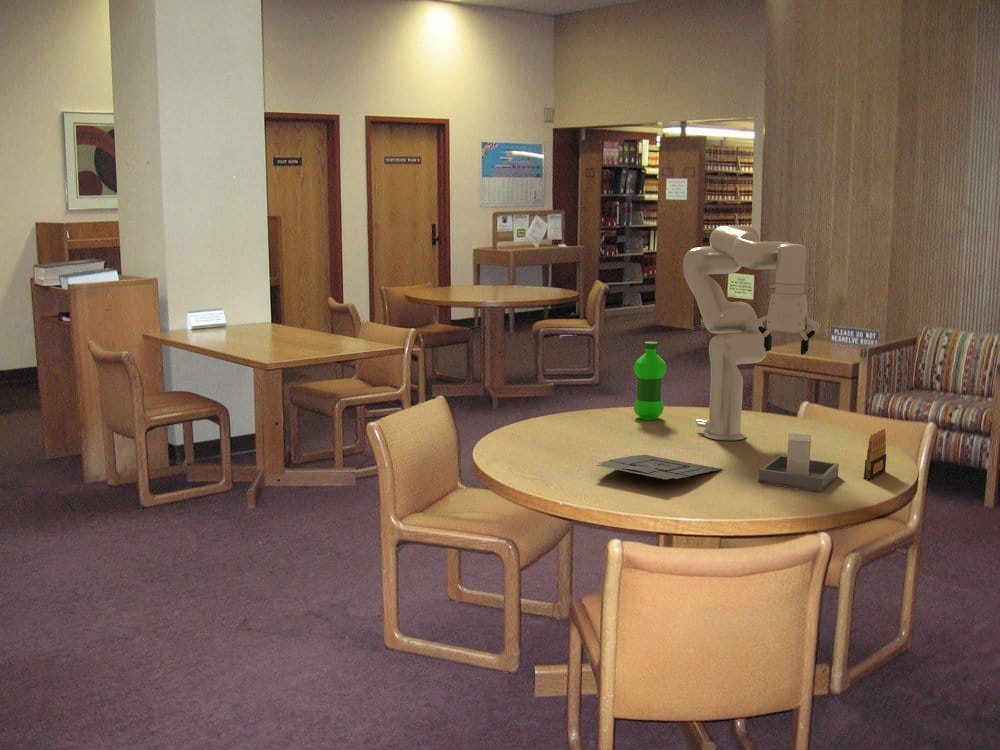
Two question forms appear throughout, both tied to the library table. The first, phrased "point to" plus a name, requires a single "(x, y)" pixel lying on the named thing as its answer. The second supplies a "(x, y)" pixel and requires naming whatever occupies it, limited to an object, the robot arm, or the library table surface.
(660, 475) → the dark grey grooved panel
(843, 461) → the library table surface
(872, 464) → the ammunition clip
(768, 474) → the tray
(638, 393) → the plastic bottle
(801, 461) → the small box
